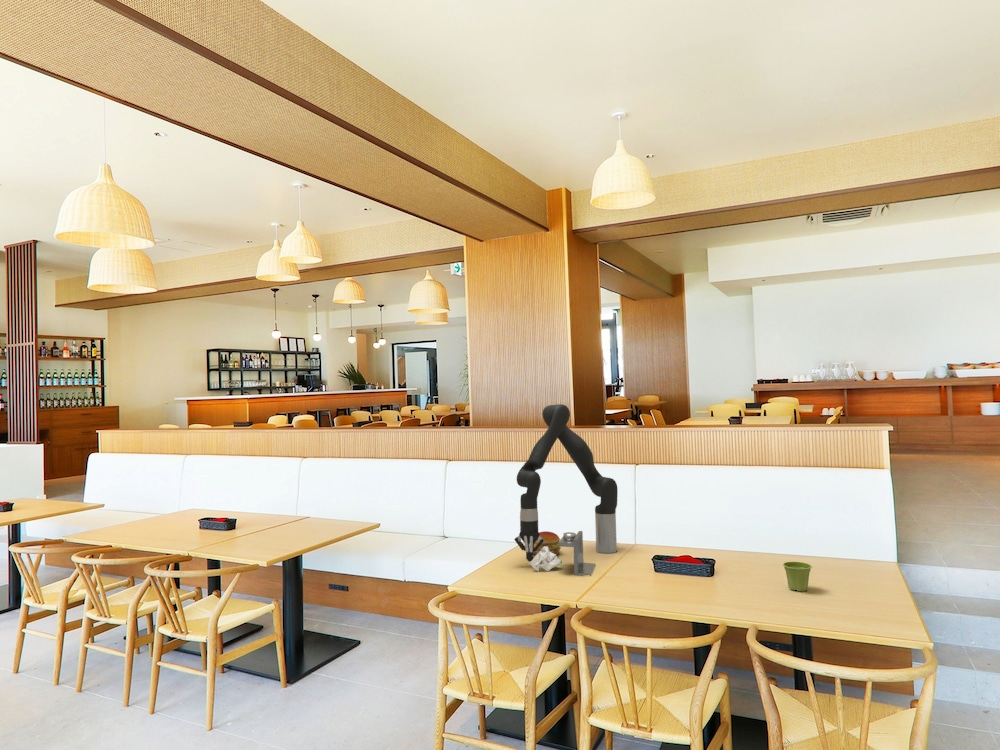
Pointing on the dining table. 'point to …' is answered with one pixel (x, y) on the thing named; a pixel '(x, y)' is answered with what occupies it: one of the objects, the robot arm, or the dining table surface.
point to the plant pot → (797, 575)
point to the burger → (548, 542)
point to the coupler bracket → (577, 552)
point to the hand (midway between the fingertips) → (529, 560)
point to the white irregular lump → (545, 560)
